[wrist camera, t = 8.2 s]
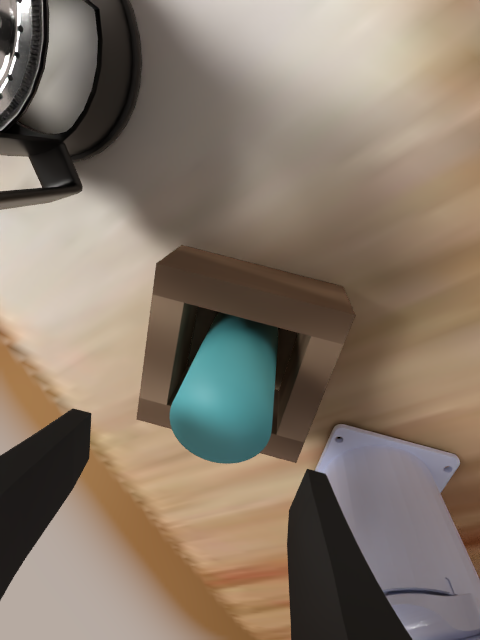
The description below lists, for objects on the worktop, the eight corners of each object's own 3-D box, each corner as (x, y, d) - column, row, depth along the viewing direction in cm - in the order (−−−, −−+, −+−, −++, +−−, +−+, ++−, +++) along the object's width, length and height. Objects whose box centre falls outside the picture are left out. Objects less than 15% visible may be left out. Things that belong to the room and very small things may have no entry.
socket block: (295, 415, 23) (296, 462, 19) (160, 379, 23) (136, 419, 19) (342, 286, 19) (355, 315, 15) (181, 244, 19) (156, 263, 16)
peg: (265, 371, 22) (253, 475, 14) (204, 351, 22) (160, 444, 14) (287, 315, 20) (286, 400, 13) (221, 293, 20) (181, 366, 13)
